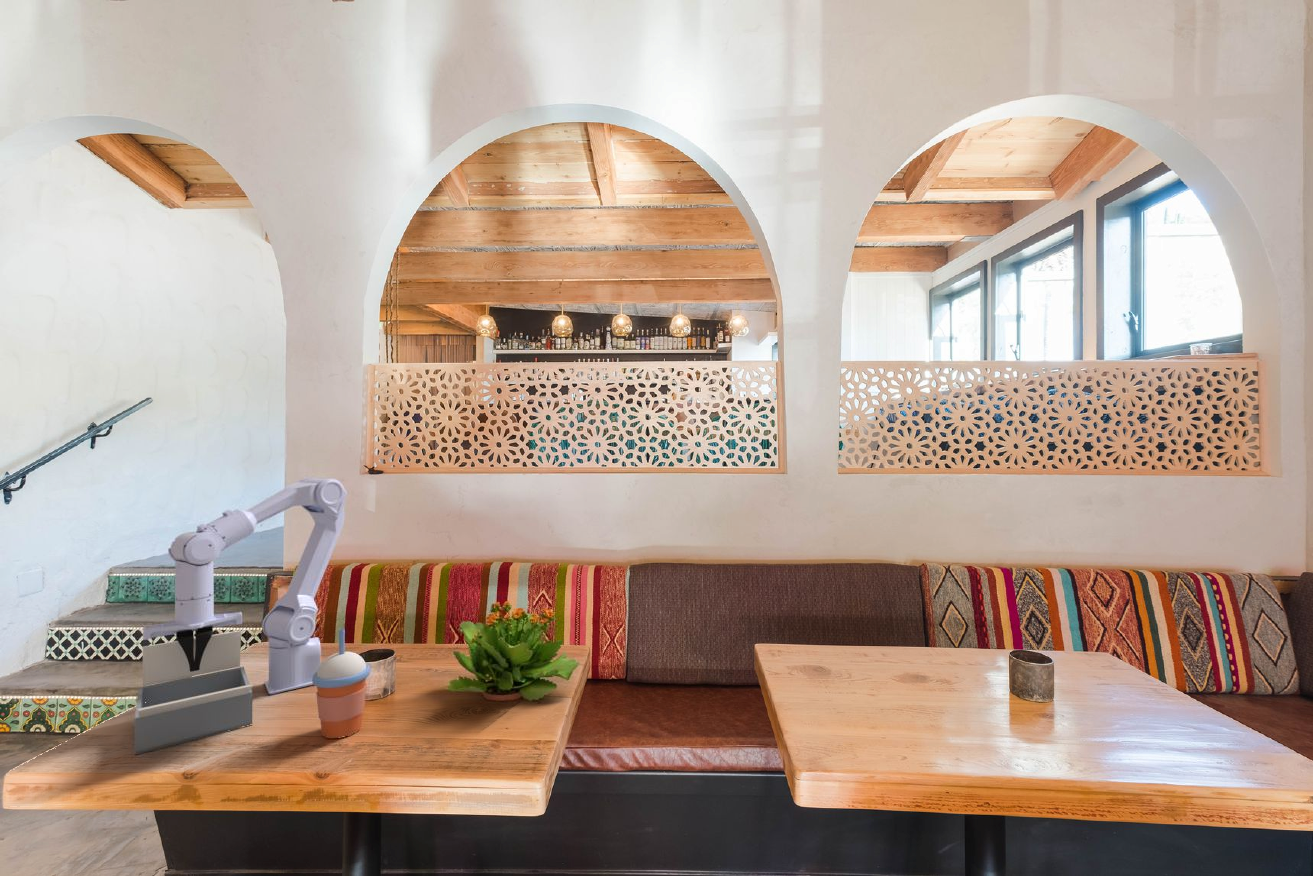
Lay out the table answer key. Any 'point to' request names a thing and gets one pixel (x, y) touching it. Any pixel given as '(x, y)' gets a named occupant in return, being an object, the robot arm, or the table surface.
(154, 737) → the carton
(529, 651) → the potted flower
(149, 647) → the back flap
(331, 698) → the cup with straw
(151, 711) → the front flap
